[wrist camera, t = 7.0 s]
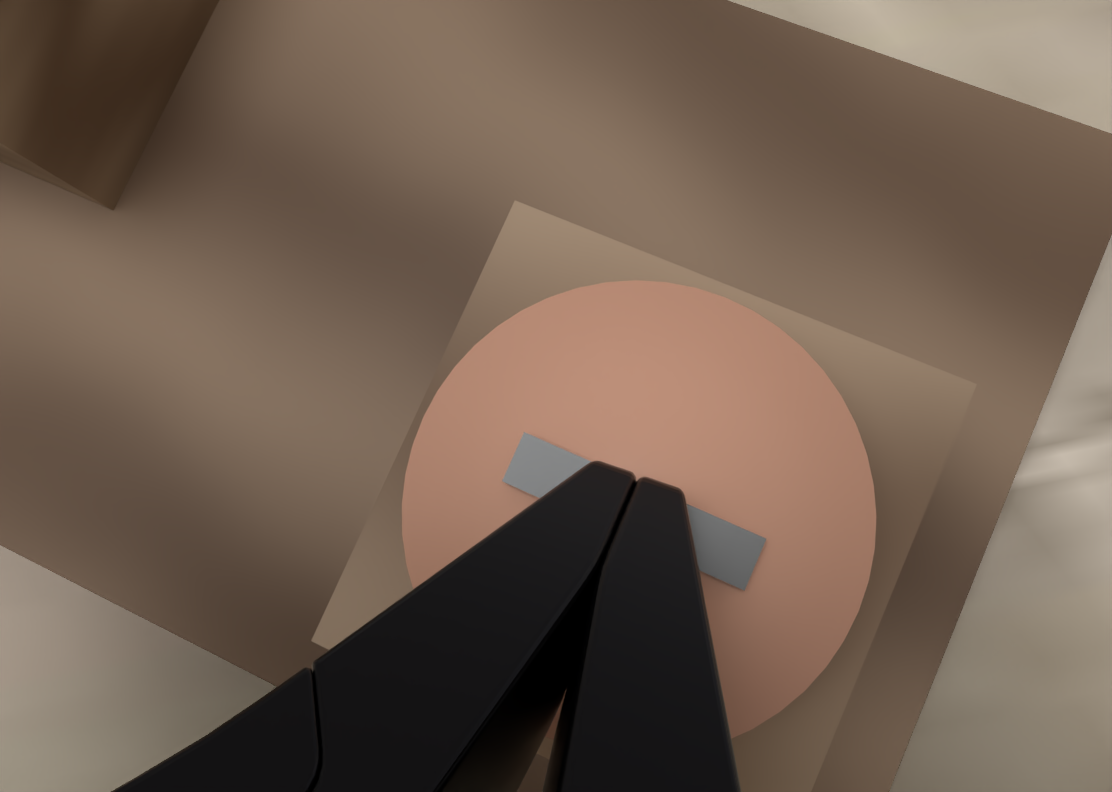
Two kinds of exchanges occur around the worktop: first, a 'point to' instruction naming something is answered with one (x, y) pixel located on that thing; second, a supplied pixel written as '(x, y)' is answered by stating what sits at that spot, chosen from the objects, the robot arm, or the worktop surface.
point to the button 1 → (666, 463)
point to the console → (499, 291)
